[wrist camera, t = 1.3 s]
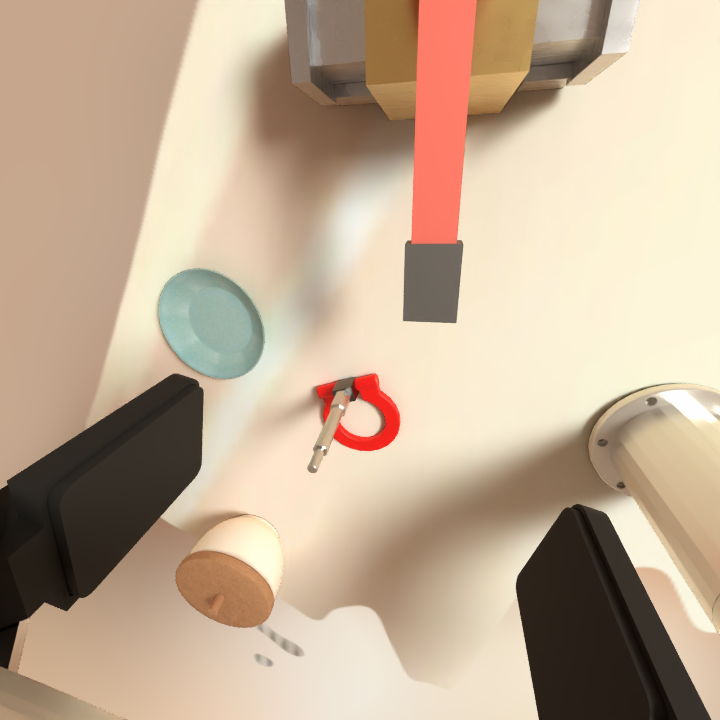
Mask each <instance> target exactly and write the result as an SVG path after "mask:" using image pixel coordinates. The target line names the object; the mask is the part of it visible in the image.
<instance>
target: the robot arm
mask: <svg viewBox="0 0 720 720" xmlns="http://www.w3.org/2000/svg"><path fill="white" fill-rule="evenodd" d="M203 395H204V392H203V389H202V388H201V387H199V383H198V381H197V380H195V379H192V378H189V377H186V376H183V375H180V374H172V375H170V376H169V377H167V378H165V379H164V380H162V381H161V382H159V383H158V384H156V385H155V386H153V387H151V388H150V389H148V390H147V391H145V392H144V393H142V394H141V395H139V396H138V397H136V398H134V399H133V400H131V401H130V402H128V403H127V404H125V405H124V406H122V407H121V408H119V409H117V410H116V411H114V412H113V413H111V414H110V415H108V416H107V417H105V418H103V419H102V420H100V421H99V422H97V423H96V424H94V425H93V426H91V427H90V428H88V429H86V430H85V431H83V432H82V433H80V434H79V435H77V436H76V437H74V438H72V439H71V440H69V441H68V442H66V443H65V444H64V445H62V446H60V447H59V448H57V449H55V450H54V451H52V452H51V453H49V454H48V455H46V456H45V457H43V458H42V459H40V460H38V461H37V462H35V463H34V464H32V465H31V466H29V467H28V468H26V469H24V470H23V471H21V472H20V473H18V474H17V475H15V476H14V477H12V478H11V479H9V480H7V484H8V485H7V486H5V487H4V488H2V489H0V720H127V719H125V718H122V717H120V716H117V715H115V714H113V713H110V712H108V711H106V710H103V709H101V708H99V707H97V706H94V705H92V704H90V703H87V702H85V701H83V700H80V699H78V698H76V697H73V696H71V695H69V694H66V693H64V692H62V691H59V690H57V689H54V688H52V687H50V686H47V685H45V684H43V683H40V682H38V681H35V680H32V679H30V678H28V677H25V676H23V675H20V674H18V669H19V665H20V660H21V656H22V651H23V647H24V642H25V638H26V634H27V629H28V625H29V620H30V616H31V615H32V614H33V613H34V612H35V611H36V610H37V609H38V608H39V607H40V606H41V605H42V604H43V603H44V602H45V603H48V604H50V605H53V606H55V607H57V608H60V609H62V610H65V611H68V610H69V608H70V607H71V606H72V605H73V604H74V603H75V602H76V601H77V599H78V598H84V597H87V596H88V595H89V594H91V593H92V592H93V591H94V590H95V589H96V588H97V587H98V585H99V584H100V583H101V582H102V581H103V580H104V579H105V578H106V576H107V575H108V574H109V573H110V572H111V571H112V570H113V569H114V568H115V566H116V565H117V564H118V563H119V562H120V561H121V560H122V559H123V558H124V556H125V555H126V554H127V553H128V552H129V551H130V550H131V549H132V548H133V546H134V545H135V544H136V543H137V542H138V541H139V540H140V539H141V537H142V536H143V535H144V534H145V533H146V532H147V531H148V530H149V529H150V527H151V526H152V525H153V524H154V523H155V522H156V521H157V520H158V518H159V517H160V516H161V515H162V514H163V513H164V512H165V511H166V510H167V508H168V507H169V506H170V505H171V504H172V503H173V502H174V501H175V500H176V498H177V497H178V496H179V495H180V494H181V493H182V492H183V491H184V489H185V488H186V487H187V486H188V485H189V484H190V483H191V482H192V481H193V479H194V478H195V477H196V476H197V474H198V472H199V470H200V468H201V463H202V430H203ZM588 450H589V456H590V460H591V462H592V464H593V466H594V468H595V470H596V471H597V473H598V475H599V476H600V477H601V478H602V479H603V480H604V481H605V482H606V483H607V484H608V485H609V486H610V487H612V488H613V489H615V490H617V491H619V492H621V493H623V494H626V495H628V496H632V497H633V498H634V500H635V502H636V503H637V505H638V506H639V508H640V509H641V511H642V513H643V514H644V516H645V517H646V519H647V521H648V522H649V524H650V525H651V527H652V529H653V530H654V532H655V533H656V535H657V536H658V538H659V540H660V541H661V543H662V544H663V546H664V548H665V549H666V551H667V552H668V554H669V556H670V557H671V559H672V560H673V562H674V563H675V565H676V567H677V568H678V570H679V571H680V573H681V575H682V576H683V578H684V579H685V581H686V583H687V584H688V586H689V587H690V589H691V590H692V592H693V594H694V595H695V597H696V598H697V600H698V602H699V603H700V605H701V606H702V608H703V610H704V611H705V613H706V614H707V616H708V617H709V619H710V621H711V622H712V624H713V625H714V627H715V629H716V630H717V632H718V633H719V634H720V391H717V390H715V389H713V388H710V387H705V386H701V385H696V384H681V383H679V384H666V385H660V386H655V387H651V388H647V389H644V390H641V391H639V392H636V393H633V394H631V395H629V396H627V397H625V398H624V399H622V400H620V401H618V402H617V403H616V404H614V405H613V406H612V407H610V408H609V409H608V410H607V411H606V412H605V413H604V414H603V415H602V416H601V417H600V418H599V420H598V421H597V423H596V424H595V426H594V428H593V429H592V432H591V435H590V438H589V446H588ZM516 593H517V598H518V603H519V610H520V615H521V621H522V626H523V632H524V637H525V643H526V649H527V654H528V660H529V666H530V671H531V677H532V683H533V688H534V693H535V700H536V705H537V711H538V717H539V720H711V718H710V716H709V714H708V712H707V710H706V708H705V707H704V704H703V703H702V700H701V698H700V697H699V695H698V693H697V691H696V689H695V687H694V685H693V683H692V681H691V679H690V677H689V675H688V673H687V671H686V669H685V667H684V665H683V663H682V661H681V659H680V658H679V655H678V653H677V651H676V649H675V647H674V645H673V643H672V641H671V640H670V637H669V635H668V633H667V631H666V630H665V628H664V625H663V624H662V622H661V620H660V618H659V616H658V614H657V612H656V610H655V608H654V606H653V604H652V602H651V600H650V598H649V596H648V594H647V592H646V590H645V588H644V586H643V584H642V582H641V580H640V578H639V576H638V574H637V572H636V570H635V568H634V566H633V564H632V562H631V560H630V558H629V556H628V554H627V552H626V551H625V549H624V547H623V545H622V543H621V541H620V539H619V537H618V535H617V533H616V531H615V529H614V527H613V525H612V523H611V521H610V519H609V517H608V516H607V514H605V513H604V512H602V511H598V510H595V509H592V508H589V507H586V506H583V505H580V504H576V505H574V506H572V507H571V508H568V507H567V508H565V509H564V510H563V511H562V512H561V514H560V515H559V517H558V518H557V520H556V521H555V523H554V524H553V525H552V527H551V528H550V530H549V531H548V533H547V534H546V536H545V537H544V538H543V540H542V541H541V543H540V544H539V546H538V547H537V549H536V550H535V552H534V553H533V554H532V556H531V557H530V559H529V560H528V562H527V563H526V565H525V566H524V568H523V569H522V570H521V572H520V573H519V575H518V578H517V582H516Z"/></svg>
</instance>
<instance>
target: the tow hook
mask: <svg viewBox="0 0 720 720" xmlns="http://www.w3.org/2000/svg"><path fill="white" fill-rule="evenodd" d="M359 392H360V394H361V397H362V399H363V400H364V401H368V402H370V403H372V404H374V405H375V406H377V407H378V408H379V409H380V410H381V411H382V413H383V415H384V417H385V421H386V425H385V427H384V429H383V430H382V431H381V432H380V433H379V434H377V435H375V436H371V437H360V436H356V435H353V434H351V433H349V432H348V431H347V430H345V429H344V427H343V426H342V425H341V423H340V420H341V417H342V416H344V415H345V413H346V410H347V408H348V405H349V403H350V402H351V401H355V400H356V398H357V395H358V393H359ZM317 393H318V396H319V398H321V399H322V398H323V399H324V402H325V404H326V405H325V408H324V415H323V417H324V422H325V424H324V426H323V428H322V431H321V433H320V435H319V437H318V439H317V441H316V444H315V446H314V448H313V451H314V454H313V456H312V459H311V461H310V463H309V465H308V468H307V469H308V471H309V472H311V473H316V472H317V470H318V467H319V465H320V463H321V460H322V458H323V456H325V455H326V454H327V452H328V450H329V447H330V445H331V442H332V440H333V437H334V438H335V439H336V440H337V441H339V442H340V443H341V444H343V445H345V446H347V447H349V448H352V449H356V450H360V451H373V450H378V449H381V448H383V447H385V446H387V445H389V444H390V443H391V442H392V441H393V440H394V439H395V437H396V436H397V434H398V431H399V426H400V414H399V411H398V409H397V407H396V405H395V403H394V402H393V401H392V400H391V398H390V397H388V396H387V395H386V394H385V393H383V392H382V391H380V388H379V379H378V376H377V374H372V375H367V376H363V377H358V378H355V377H354V378H349V379H344V380H340V381H337V382H335V383H331V384H326V385H321V386H318V388H317Z"/></svg>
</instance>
